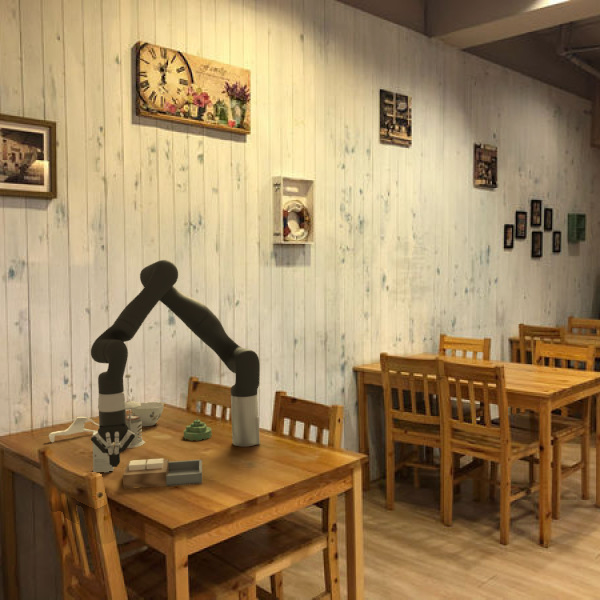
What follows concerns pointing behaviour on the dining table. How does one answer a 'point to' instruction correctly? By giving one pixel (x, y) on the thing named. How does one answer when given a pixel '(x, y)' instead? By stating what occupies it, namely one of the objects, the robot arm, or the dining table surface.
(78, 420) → the white clothes hanger
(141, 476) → the board
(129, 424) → the french press
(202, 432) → the decorative artifact
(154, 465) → the tile
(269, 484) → the dining table surface
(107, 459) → the skincare box
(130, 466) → the tile
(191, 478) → the tray
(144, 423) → the teacup
